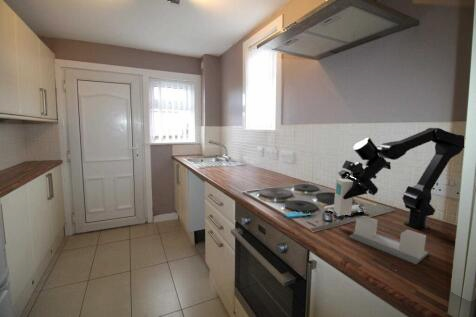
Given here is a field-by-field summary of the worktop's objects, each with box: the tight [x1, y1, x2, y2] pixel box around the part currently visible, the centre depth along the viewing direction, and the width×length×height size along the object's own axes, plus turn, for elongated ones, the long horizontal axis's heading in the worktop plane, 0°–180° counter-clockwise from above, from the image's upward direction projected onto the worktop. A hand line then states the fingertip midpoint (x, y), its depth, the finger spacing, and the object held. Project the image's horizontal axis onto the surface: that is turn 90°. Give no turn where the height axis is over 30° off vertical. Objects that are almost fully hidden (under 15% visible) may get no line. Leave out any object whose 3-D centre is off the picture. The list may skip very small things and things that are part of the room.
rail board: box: [349, 215, 429, 265], centre depth 80 cm, size 10×20×7 cm, turn 37°
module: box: [333, 178, 354, 216], centre depth 93 cm, size 5×5×13 cm
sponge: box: [283, 210, 312, 219], centre depth 105 cm, size 2×12×6 cm
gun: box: [323, 204, 368, 213], centre depth 110 cm, size 18×3×10 cm
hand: (340, 196), depth 93 cm, fingers closed on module, 5 cm apart
